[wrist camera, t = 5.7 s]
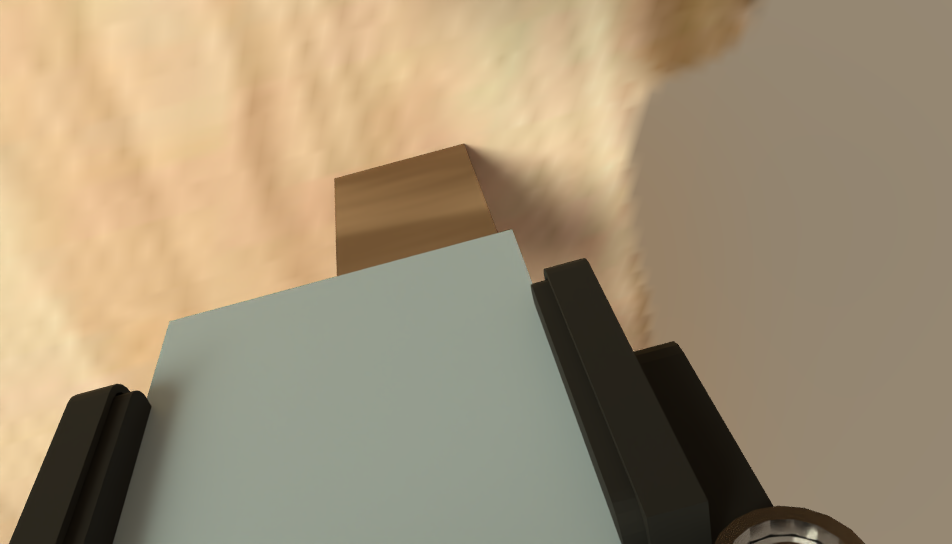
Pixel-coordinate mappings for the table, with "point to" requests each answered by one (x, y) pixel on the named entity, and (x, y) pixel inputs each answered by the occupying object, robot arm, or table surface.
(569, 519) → the domino
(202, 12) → the table surface
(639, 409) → the robot arm
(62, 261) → the table surface
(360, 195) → the domino
